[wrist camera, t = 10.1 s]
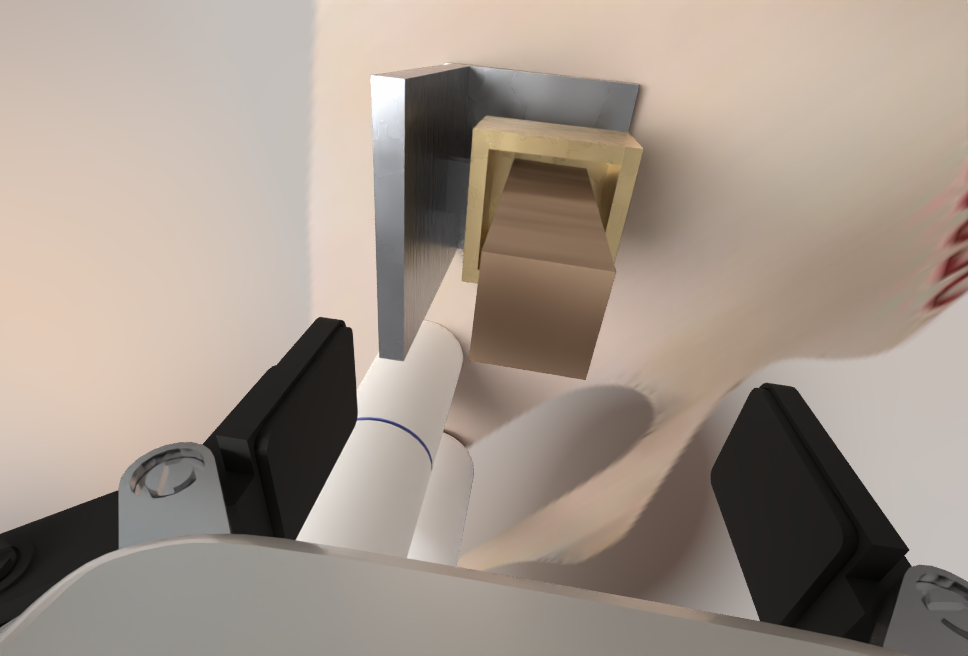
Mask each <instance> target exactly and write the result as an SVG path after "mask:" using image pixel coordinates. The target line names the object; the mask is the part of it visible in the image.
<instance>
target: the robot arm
mask: <svg viewBox="0 0 968 656" xmlns="http://www.w3.org/2000/svg"><path fill="white" fill-rule="evenodd" d="M357 417H358V405H357V391H356V376H355V361H354V346H353V332H352V329H351V328H350V327H346V325H345V322H344V321H343V320H337V319H330V318H323V317H319V318H317V319H316V320H315V321H314V323H313V324H312V325H311V326H310V327H309V328H308V329H307V331H306V332H305V333H304V334H303V335H302V337H301V338H300V339H299V340H298V341H297V342H296V343H295V344H294V346H293V347H292V348H291V349H290V350H289V351H288V352H287V354H286V355H285V356H284V357H283V358H282V359H281V361H280V362H279V363H278V364H277V365H276V366H272V368H270V369H269V370H268V371H267V372H266V373H265V374H264V375H263V376H262V377H261V379H260V380H259V381H258V382H257V383H256V384H255V385H254V386H253V388H252V389H251V390H250V391H249V392H248V393H247V394H246V396H245V397H244V398H243V399H242V400H241V401H240V402H239V404H238V405H237V406H236V407H235V408H234V409H233V410H232V411H231V413H230V414H229V415H228V416H227V417H226V418H225V419H224V421H223V422H222V423H221V424H220V425H219V426H218V427H217V429H216V430H215V431H214V432H213V433H212V434H211V436H210V437H209V438H208V439H207V440H206V441H205V442H204V443H203V444H197V443H193V442H179V443H174V444H169V445H165V446H162V447H160V448H157V449H154V450H152V451H150V452H148V453H147V454H145V455H143V456H142V457H140V458H138V459H137V460H136V461H135V462H134V463H133V464H132V465H130V466H129V467H128V469H127V470H126V471H125V473H124V474H123V476H122V477H121V480H120V484H119V490H118V491H115V492H112V493H109V494H107V495H104V496H101V497H99V498H96V499H93V500H91V501H88V502H85V503H82V504H80V505H77V506H74V507H72V508H69V509H66V510H64V511H61V512H58V513H56V514H53V515H50V516H47V517H45V518H42V519H39V520H37V521H34V522H31V523H29V524H26V525H23V526H21V527H18V528H15V529H13V530H10V531H7V532H4V533H2V534H0V656H968V582H967V581H966V580H964V579H962V578H960V577H958V576H956V575H954V574H952V573H950V572H948V571H946V570H943V569H940V568H937V567H934V566H927V565H917V566H913V567H912V566H911V565H910V563H909V562H908V560H907V559H906V557H905V556H904V555H905V554H906V553H907V552H908V551H909V549H908V547H907V546H906V544H905V543H904V541H903V540H902V539H901V537H900V536H899V534H898V533H897V532H896V530H895V529H894V528H893V526H892V524H891V523H890V522H889V520H888V519H887V517H886V516H885V514H884V513H883V512H882V510H881V509H880V507H879V506H878V505H877V503H876V502H875V501H874V499H873V497H872V496H871V495H870V493H869V492H868V490H867V489H866V488H865V486H864V485H863V483H862V482H861V480H860V479H859V478H858V476H857V475H856V473H855V472H854V470H853V469H852V468H851V466H850V465H849V463H848V462H847V460H846V459H845V458H844V456H843V455H842V453H841V452H840V450H839V449H838V448H837V446H836V445H835V443H834V442H833V440H832V439H831V438H830V436H829V435H828V433H827V432H826V431H825V429H824V428H823V426H822V425H821V423H820V422H819V421H818V419H817V418H816V416H815V415H814V414H813V412H812V411H811V409H810V408H809V406H808V405H807V403H806V402H805V401H804V399H803V398H802V396H801V395H800V394H799V392H798V391H797V390H796V389H795V388H794V387H791V386H785V385H778V384H770V383H764V384H763V385H761V386H760V387H759V388H754V389H753V390H752V391H751V392H750V394H749V396H748V398H747V400H746V402H745V404H744V406H743V408H742V410H741V412H740V414H739V416H738V418H737V420H736V422H735V424H734V426H733V428H732V430H731V432H730V434H729V436H728V438H727V440H726V442H725V444H724V446H723V448H722V450H721V452H720V454H719V456H718V458H717V460H716V462H715V464H714V466H713V468H712V471H711V484H712V487H713V490H714V493H715V496H716V499H717V502H718V504H719V507H720V510H721V512H722V515H723V518H724V521H725V524H726V527H727V529H728V532H729V535H730V538H731V540H732V543H733V546H734V549H735V552H736V555H737V558H738V560H739V563H740V566H741V569H742V571H743V574H744V577H745V580H746V583H747V586H748V588H749V591H750V594H751V596H752V600H753V602H754V605H755V608H756V611H757V614H758V616H759V619H760V621H755V620H749V619H744V618H739V617H733V616H728V615H723V614H717V613H712V612H706V611H701V610H695V609H690V608H684V607H679V606H673V605H668V604H662V603H657V602H652V601H646V600H640V599H635V598H630V597H624V596H619V595H613V594H607V593H601V592H596V591H590V590H585V589H579V588H574V587H568V586H563V585H557V584H551V583H546V582H540V581H534V580H529V579H523V578H518V577H511V576H506V575H500V574H495V573H489V572H484V571H478V570H472V569H466V568H461V567H455V566H449V565H443V564H437V563H431V562H426V561H420V560H414V559H408V558H402V557H397V556H391V555H385V554H379V553H373V552H368V551H362V550H355V549H349V548H343V547H336V546H330V545H323V544H317V543H310V542H304V541H297V540H296V538H297V537H298V535H299V533H300V531H301V529H302V527H303V525H304V523H305V521H306V519H307V517H308V516H309V514H310V512H311V510H312V508H313V506H314V504H315V502H316V500H317V498H318V496H319V494H320V493H321V491H322V489H323V487H324V485H325V483H326V481H327V479H328V477H329V475H330V473H331V471H332V470H333V468H334V466H335V464H336V462H337V460H338V458H339V456H340V454H341V452H342V450H343V448H344V447H345V445H346V443H347V441H348V439H349V437H350V435H351V433H352V431H353V429H354V427H355V425H356V422H357Z"/></svg>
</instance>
